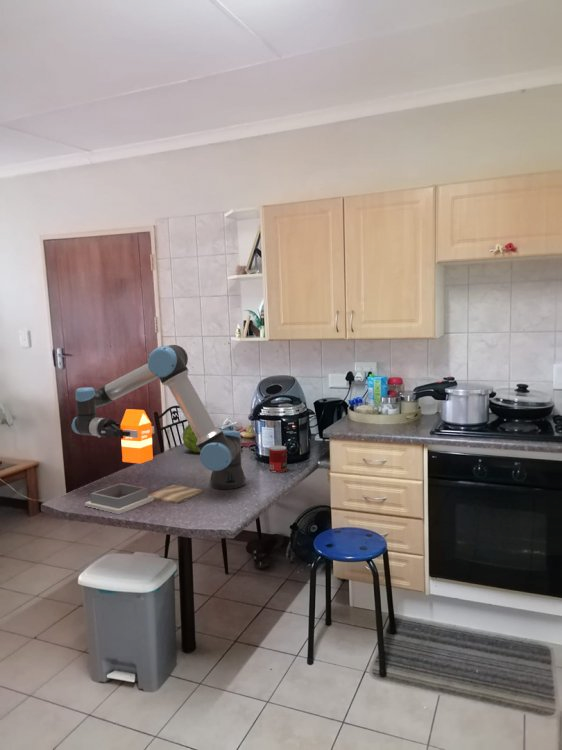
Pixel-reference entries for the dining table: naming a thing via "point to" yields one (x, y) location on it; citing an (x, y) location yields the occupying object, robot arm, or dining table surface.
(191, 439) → the lettuce
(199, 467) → the dining table surface
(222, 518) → the dining table surface
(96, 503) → the collar holder
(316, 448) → the dining table surface
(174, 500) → the oak board
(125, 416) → the orange juice
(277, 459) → the canned food
